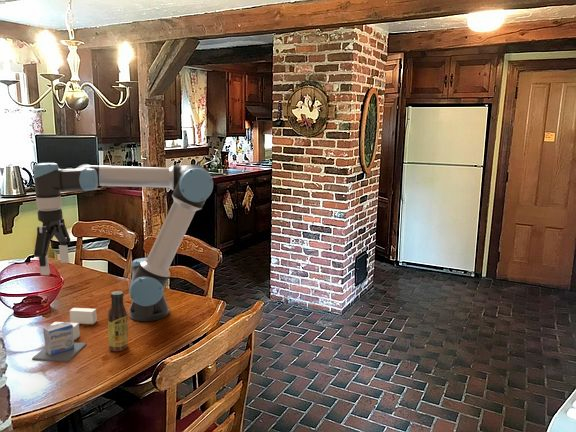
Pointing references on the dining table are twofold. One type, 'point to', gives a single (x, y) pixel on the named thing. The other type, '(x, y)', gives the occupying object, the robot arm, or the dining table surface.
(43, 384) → the dining table surface
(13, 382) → the dining table surface
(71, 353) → the rubber mat
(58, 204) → the robot arm
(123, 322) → the sauce bottle
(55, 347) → the medicine box
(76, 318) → the slot stand
